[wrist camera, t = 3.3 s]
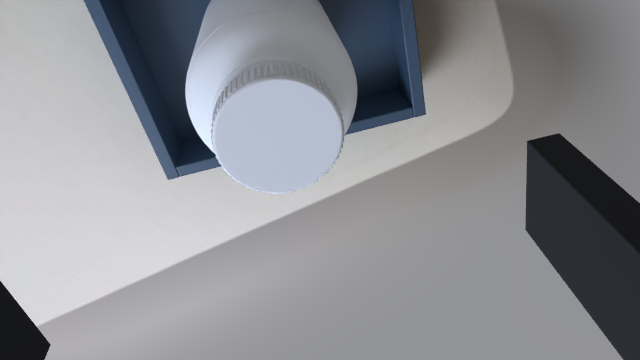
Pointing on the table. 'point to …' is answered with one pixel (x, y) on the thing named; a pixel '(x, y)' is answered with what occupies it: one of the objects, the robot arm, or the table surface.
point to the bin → (179, 42)
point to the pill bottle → (271, 91)
